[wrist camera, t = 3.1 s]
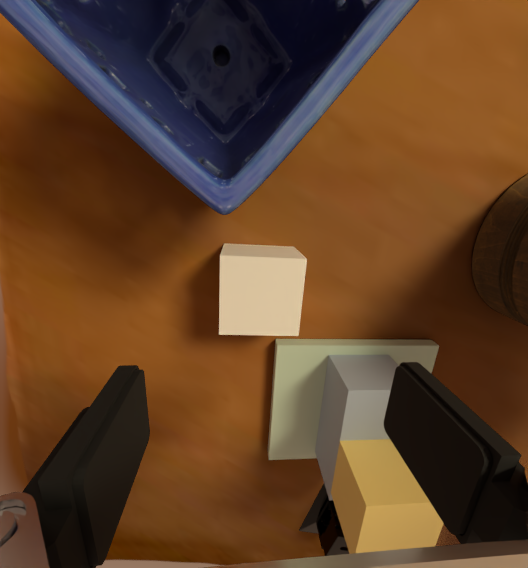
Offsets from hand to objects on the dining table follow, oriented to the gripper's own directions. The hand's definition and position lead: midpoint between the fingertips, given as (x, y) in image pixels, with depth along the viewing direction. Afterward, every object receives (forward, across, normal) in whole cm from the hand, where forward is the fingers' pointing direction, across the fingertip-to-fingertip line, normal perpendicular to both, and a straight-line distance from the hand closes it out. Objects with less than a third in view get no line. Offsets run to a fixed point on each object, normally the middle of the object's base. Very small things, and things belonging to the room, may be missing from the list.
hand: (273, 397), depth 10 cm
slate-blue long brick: (+14, -10, +13) cm, 21 cm away
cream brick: (+15, 0, 0) cm, 15 cm away
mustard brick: (+9, -10, +15) cm, 20 cm away
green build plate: (+15, -10, +13) cm, 22 cm away
